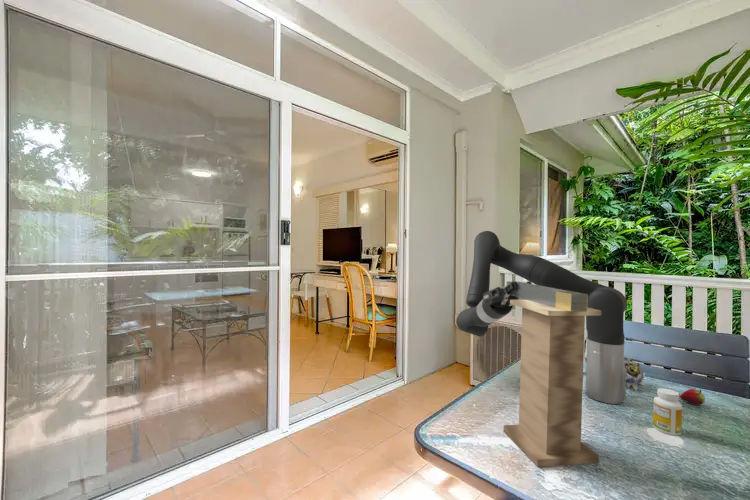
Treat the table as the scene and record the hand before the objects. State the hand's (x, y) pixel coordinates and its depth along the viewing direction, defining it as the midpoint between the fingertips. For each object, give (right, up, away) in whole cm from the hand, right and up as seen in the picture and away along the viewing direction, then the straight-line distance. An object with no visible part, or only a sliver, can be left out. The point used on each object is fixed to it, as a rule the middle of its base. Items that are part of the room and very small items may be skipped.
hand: (523, 284), depth 85 cm
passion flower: (+45, -36, +25) cm, 63 cm away
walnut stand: (+1, -35, -11) cm, 37 cm away
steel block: (+1, -3, -7) cm, 8 cm away
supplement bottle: (+35, -36, -3) cm, 50 cm away
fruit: (+56, -37, +12) cm, 68 cm away
